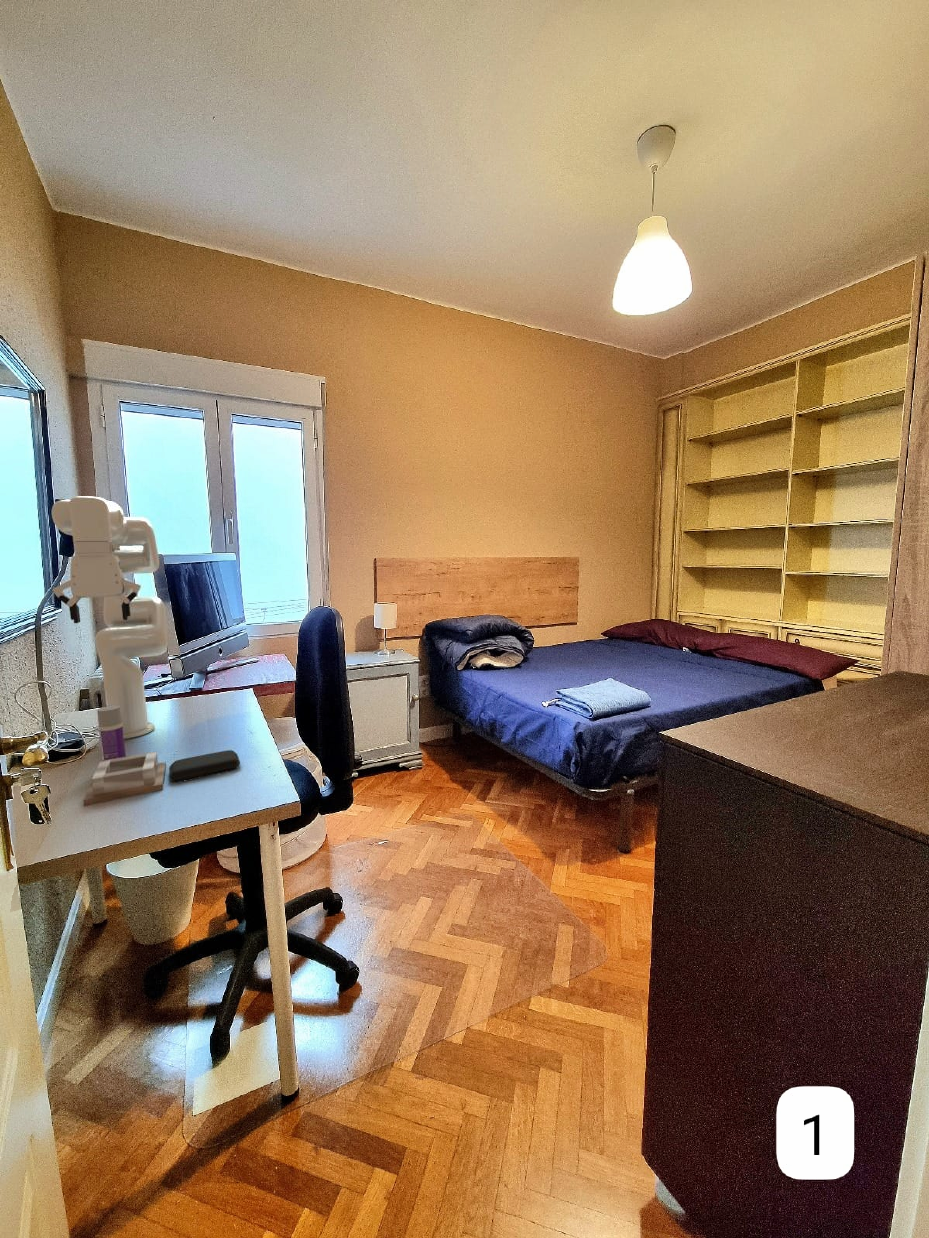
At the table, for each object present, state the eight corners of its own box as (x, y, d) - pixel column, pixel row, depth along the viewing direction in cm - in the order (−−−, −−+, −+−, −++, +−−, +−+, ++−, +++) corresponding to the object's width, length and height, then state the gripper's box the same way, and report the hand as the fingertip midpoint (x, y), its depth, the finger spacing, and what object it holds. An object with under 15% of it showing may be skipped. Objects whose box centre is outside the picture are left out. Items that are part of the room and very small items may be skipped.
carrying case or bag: (236, 756, 128) (170, 770, 121) (235, 745, 128) (168, 757, 121) (241, 771, 119) (169, 786, 112) (240, 759, 119) (168, 773, 112)
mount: (95, 779, 116) (93, 760, 115) (166, 766, 122) (164, 748, 122) (83, 805, 103) (81, 783, 103) (162, 789, 110) (160, 768, 109)
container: (131, 764, 124) (125, 705, 122) (113, 772, 119) (106, 711, 118) (116, 763, 125) (110, 704, 123) (98, 770, 121) (91, 710, 119)
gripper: (138, 550, 127) (145, 617, 129) (52, 551, 119) (61, 622, 121) (135, 548, 121) (142, 619, 122) (43, 549, 113) (53, 625, 114)
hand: (101, 621), depth 122 cm, fingers open, 9 cm apart
